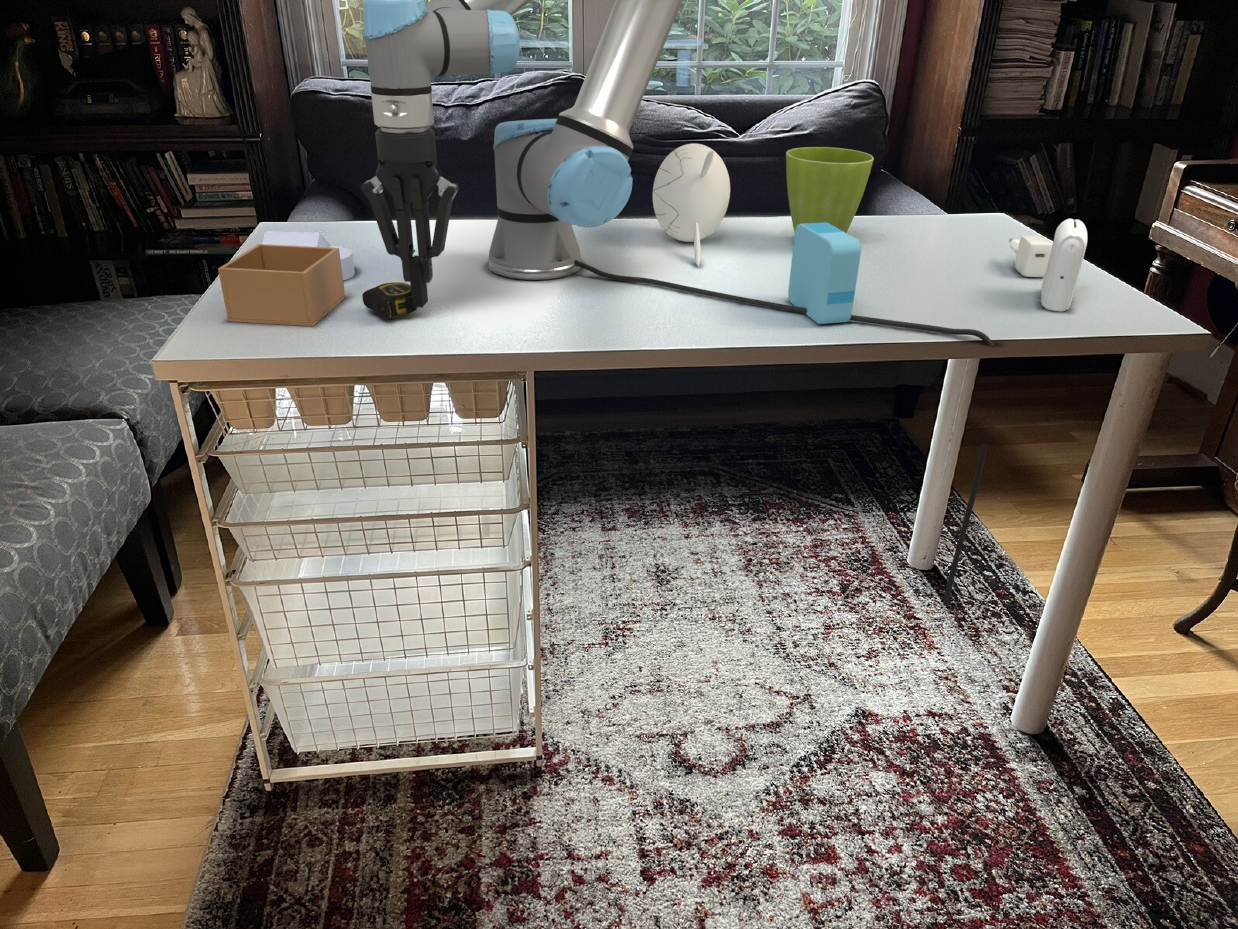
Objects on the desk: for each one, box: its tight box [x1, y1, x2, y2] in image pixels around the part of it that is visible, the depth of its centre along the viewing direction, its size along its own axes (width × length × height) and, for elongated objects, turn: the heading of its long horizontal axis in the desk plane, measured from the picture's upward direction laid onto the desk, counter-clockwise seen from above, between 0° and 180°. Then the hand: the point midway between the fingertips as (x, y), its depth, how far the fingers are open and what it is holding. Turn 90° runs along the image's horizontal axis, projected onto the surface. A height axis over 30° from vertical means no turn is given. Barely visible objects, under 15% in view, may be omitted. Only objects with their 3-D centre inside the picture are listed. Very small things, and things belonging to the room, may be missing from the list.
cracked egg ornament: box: [652, 143, 731, 268], centre depth 161 cm, size 19×14×25 cm
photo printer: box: [1040, 218, 1088, 312], centre depth 139 cm, size 10×4×12 cm, turn 158°
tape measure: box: [361, 281, 418, 320], centre depth 130 cm, size 7×7×4 cm
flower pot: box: [785, 146, 875, 234], centre depth 162 cm, size 15×15×16 cm
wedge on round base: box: [261, 230, 356, 281], centre depth 145 cm, size 9×7×13 cm
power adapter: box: [1008, 234, 1053, 278], centre depth 155 cm, size 11×5×6 cm, turn 176°
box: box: [217, 243, 346, 327], centre depth 130 cm, size 12×12×8 cm
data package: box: [787, 222, 862, 325], centre depth 132 cm, size 12×4×12 cm, turn 15°
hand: (420, 303), depth 129 cm, fingers closed
